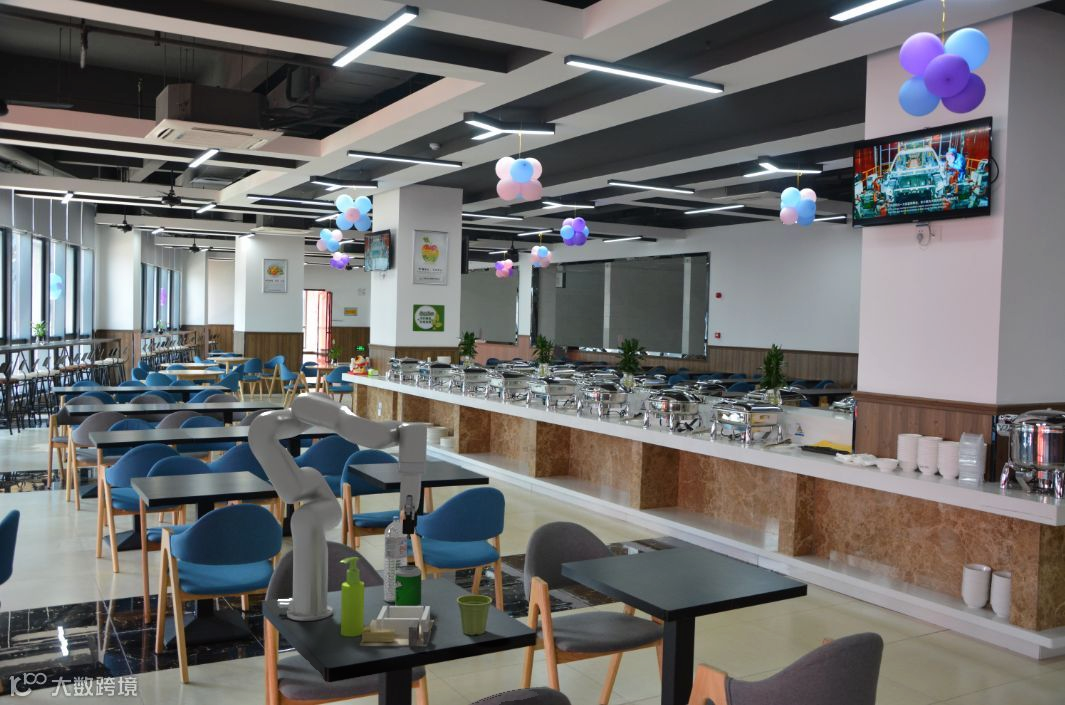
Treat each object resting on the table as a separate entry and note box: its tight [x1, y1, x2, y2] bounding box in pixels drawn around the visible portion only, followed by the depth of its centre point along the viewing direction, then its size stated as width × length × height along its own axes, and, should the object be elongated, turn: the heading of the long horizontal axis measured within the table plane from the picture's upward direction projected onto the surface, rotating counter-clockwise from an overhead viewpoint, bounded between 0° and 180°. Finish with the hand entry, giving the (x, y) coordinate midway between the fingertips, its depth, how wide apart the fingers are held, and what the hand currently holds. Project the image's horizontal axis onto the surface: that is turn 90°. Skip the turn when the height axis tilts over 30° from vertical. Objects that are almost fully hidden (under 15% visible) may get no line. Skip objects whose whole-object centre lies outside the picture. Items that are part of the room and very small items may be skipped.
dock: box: [376, 605, 431, 635], centre depth 228 cm, size 13×12×4 cm
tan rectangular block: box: [361, 625, 395, 642], centre depth 216 cm, size 8×2×3 cm, turn 92°
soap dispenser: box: [339, 556, 365, 638], centre depth 224 cm, size 6×7×20 cm
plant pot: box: [456, 594, 493, 636], centre depth 227 cm, size 9×9×9 cm
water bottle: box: [383, 516, 408, 603], centre depth 255 cm, size 7×7×25 cm
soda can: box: [394, 564, 423, 606], centre depth 246 cm, size 8×8×12 cm
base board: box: [359, 619, 435, 647], centre depth 224 cm, size 17×21×5 cm
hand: (409, 530), depth 232 cm, fingers open, 9 cm apart
